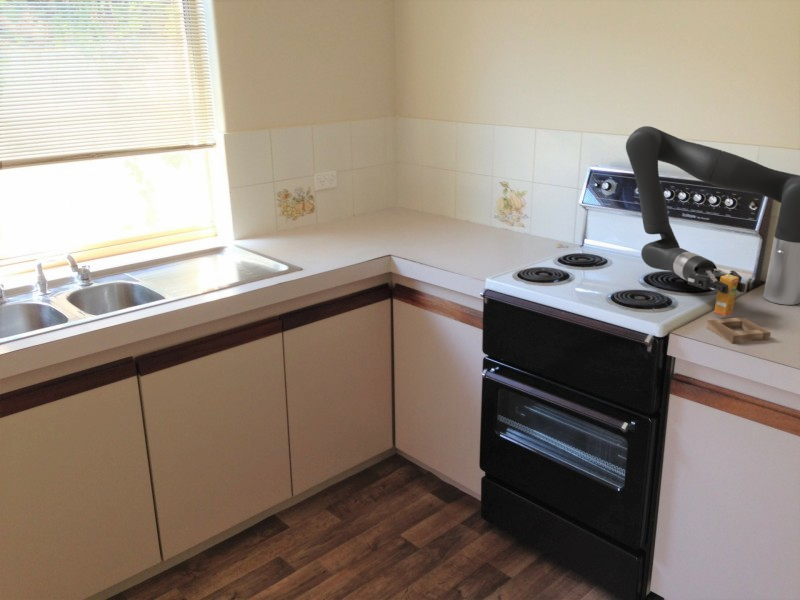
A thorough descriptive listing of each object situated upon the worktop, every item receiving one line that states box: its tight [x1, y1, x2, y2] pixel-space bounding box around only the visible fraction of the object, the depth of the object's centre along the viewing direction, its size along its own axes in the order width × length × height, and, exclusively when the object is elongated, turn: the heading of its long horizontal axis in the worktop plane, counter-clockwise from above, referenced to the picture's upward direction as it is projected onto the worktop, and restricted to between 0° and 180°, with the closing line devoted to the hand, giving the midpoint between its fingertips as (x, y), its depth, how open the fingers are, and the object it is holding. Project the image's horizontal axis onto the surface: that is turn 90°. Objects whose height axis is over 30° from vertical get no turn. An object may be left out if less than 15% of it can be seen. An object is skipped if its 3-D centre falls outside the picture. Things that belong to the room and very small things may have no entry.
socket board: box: [705, 316, 772, 345], centre depth 176 cm, size 10×10×2 cm
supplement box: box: [713, 274, 739, 317], centre depth 184 cm, size 3×3×10 cm
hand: (735, 289), depth 180 cm, fingers closed on supplement box, 4 cm apart
